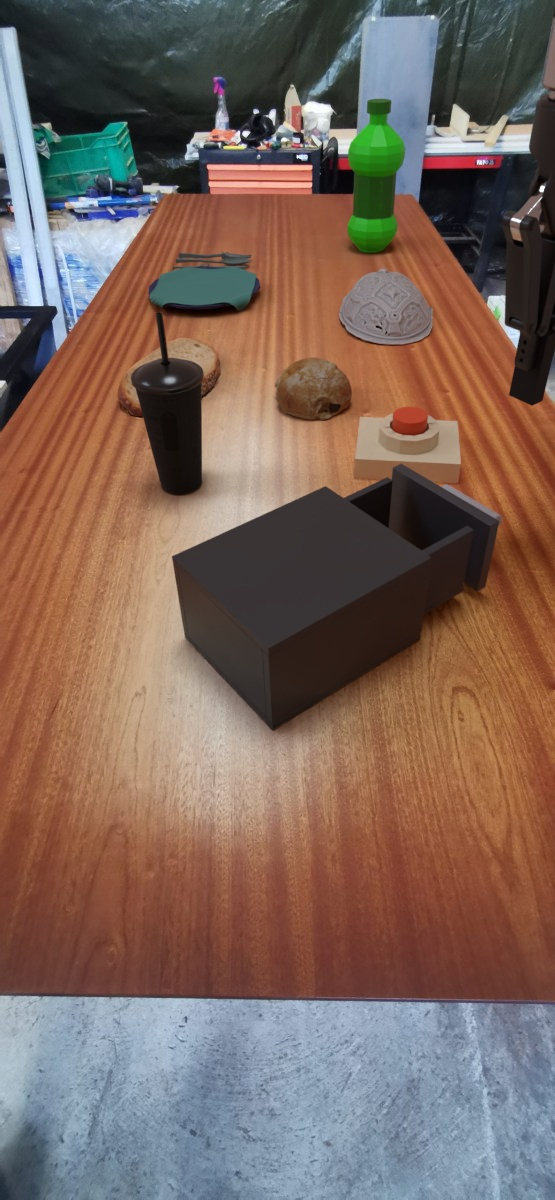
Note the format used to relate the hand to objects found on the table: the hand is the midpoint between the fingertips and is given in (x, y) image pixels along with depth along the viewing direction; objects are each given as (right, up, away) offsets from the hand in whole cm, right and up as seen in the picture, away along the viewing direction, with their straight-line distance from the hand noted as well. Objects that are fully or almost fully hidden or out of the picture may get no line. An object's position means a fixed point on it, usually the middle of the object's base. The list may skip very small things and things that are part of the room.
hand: (525, 397), depth 69 cm
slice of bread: (-39, +13, +38) cm, 56 cm away
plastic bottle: (-4, +52, +80) cm, 96 cm away
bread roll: (-19, +8, +32) cm, 38 cm away
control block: (-8, -2, +21) cm, 22 cm away
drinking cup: (-34, -5, +18) cm, 39 cm away
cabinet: (-21, -22, -2) cm, 31 cm away
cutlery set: (-36, +39, +67) cm, 85 cm away
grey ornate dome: (-5, +29, +55) cm, 62 cm away
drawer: (-11, -17, +3) cm, 20 cm away
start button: (-8, +1, +18) cm, 20 cm away
